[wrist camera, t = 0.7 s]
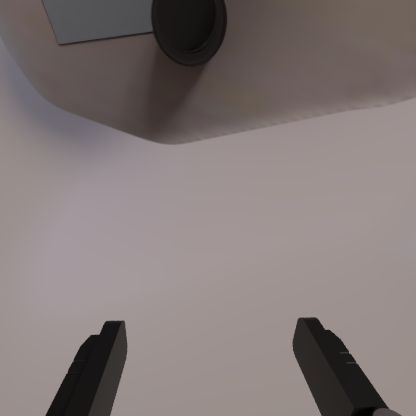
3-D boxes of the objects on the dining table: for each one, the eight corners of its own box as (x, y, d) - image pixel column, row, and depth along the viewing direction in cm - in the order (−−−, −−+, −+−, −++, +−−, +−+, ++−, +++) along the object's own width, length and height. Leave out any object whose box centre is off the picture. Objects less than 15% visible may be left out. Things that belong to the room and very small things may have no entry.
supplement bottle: (164, 63, 29) (146, 65, 19) (160, -10, 25) (135, -56, 15) (218, 66, 29) (228, 68, 19) (222, -6, 25) (237, -50, 15)
